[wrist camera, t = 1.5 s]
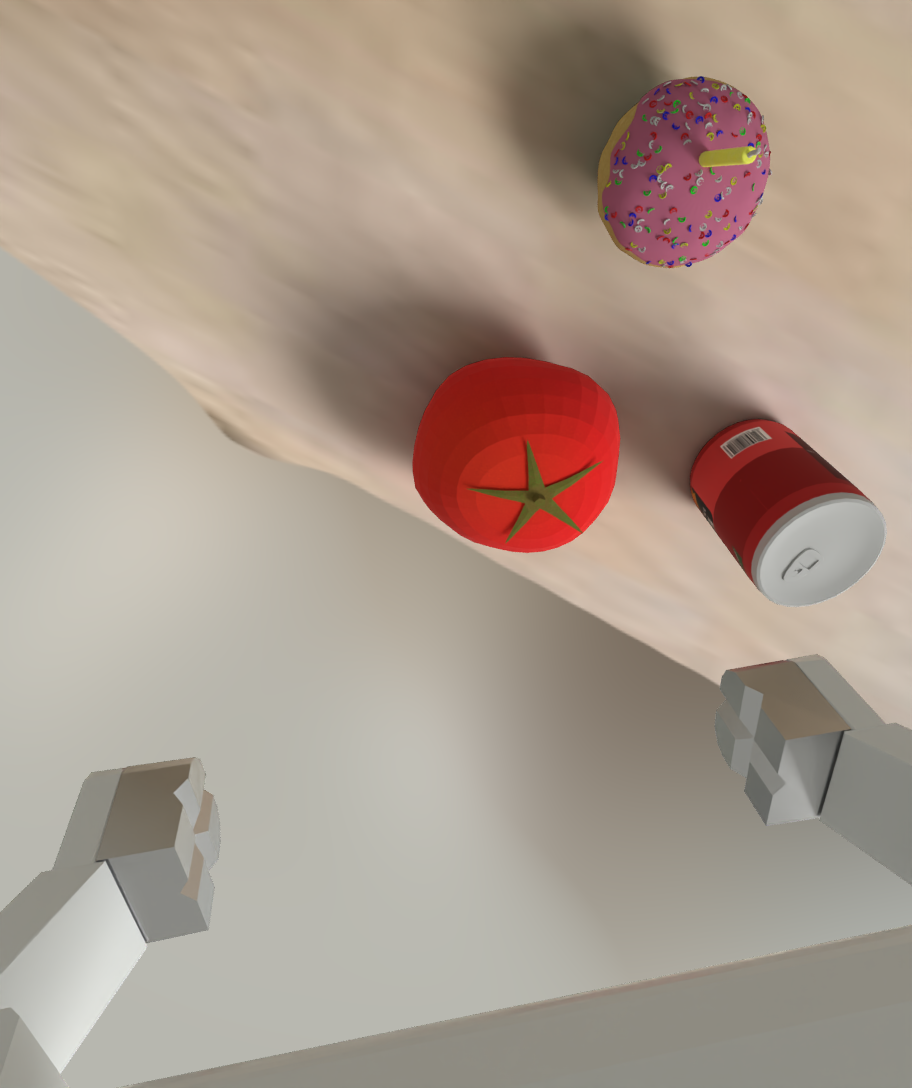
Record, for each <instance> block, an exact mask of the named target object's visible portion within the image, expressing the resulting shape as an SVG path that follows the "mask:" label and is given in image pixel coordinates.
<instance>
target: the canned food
mask: <svg viewBox="0 0 912 1088" xmlns="http://www.w3.org/2000/svg"><path fill="white" fill-rule="evenodd" d="M690 487H691V493H692V496H693V500H694V502H695V504H696V505H697V507H698V509H699V510H700V511H701V513H702V514H703V515H704V517H705V518H706V519H707V521H708V522H709V524H710V525H711V526H712V528H713V529H714V530H715V532H716V533H717V535H718V536H719V537H720V539H721V540H722V541H723V543H724V544H725V546H726V547H727V548H728V550H729V551H730V552H731V554H732V555H733V557H734V558H735V559H736V561H737V562H738V563H739V565H740V566H741V568H742V569H743V570H744V572H745V573H746V574H747V576H748V577H749V579H750V580H751V581H752V582H753V583H754V585H755V586H756V587H757V589H758V590H759V591H760V592H761V593H762V594H763V595H764V596H765V597H767V598H768V599H769V600H770V601H772V602H774V603H776V604H779V605H783V606H787V607H802V606H810V605H814V604H818V603H821V602H824V601H826V600H829V599H831V598H834V597H836V596H837V595H839V594H841V593H843V592H844V591H846V590H847V589H849V588H850V587H852V586H853V585H854V584H856V583H857V582H858V581H859V580H860V579H861V578H862V577H863V576H864V575H866V574H867V572H868V571H869V570H870V569H871V568H872V566H873V565H874V564H875V562H876V561H877V559H878V557H879V556H880V554H881V552H882V549H883V547H884V544H885V540H886V534H887V530H886V522H885V519H884V517H883V515H882V513H881V512H880V511H879V510H878V508H877V507H876V506H875V505H874V504H873V502H872V501H871V500H869V499H868V498H867V497H866V496H865V495H864V494H863V493H862V492H861V491H860V490H859V489H858V488H857V487H855V486H854V485H853V484H852V483H851V482H850V481H849V480H847V479H846V478H845V477H844V476H843V475H842V474H841V473H839V472H838V471H837V470H836V469H835V468H834V467H833V466H832V465H830V464H829V463H828V462H827V461H826V460H825V459H824V458H822V457H821V456H820V455H819V454H818V453H817V452H816V451H814V450H813V449H812V448H811V447H810V446H809V445H808V444H806V443H805V442H804V441H803V440H802V439H801V438H800V437H799V436H797V435H796V434H795V433H794V432H793V431H792V430H791V429H789V428H787V427H786V426H784V425H783V424H780V423H776V422H773V421H769V420H763V419H752V420H746V421H742V422H739V423H736V424H733V425H731V426H729V427H727V428H725V429H724V430H722V431H721V432H719V433H718V434H716V435H715V436H714V437H713V438H712V439H711V440H709V441H708V442H707V444H706V445H705V446H704V447H703V448H702V450H701V451H700V453H699V454H698V456H697V458H696V459H695V462H694V464H693V467H692V470H691V475H690Z"/></svg>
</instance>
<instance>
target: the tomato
mask: <svg viewBox="0 0 912 1088" xmlns="http://www.w3.org/2000/svg"><path fill="white" fill-rule="evenodd" d="M619 446H620V433H619V423H618V417H617V412H616V409H615V407H614V405H613V403H612V401H611V399H610V397H609V395H608V394H607V393H606V392H605V391H604V390H603V389H602V388H601V387H600V386H599V385H598V384H597V383H596V382H595V381H594V380H592V379H591V378H590V377H589V376H587V375H585V374H583V373H581V372H579V371H576V370H574V369H572V368H568V367H564V366H560V365H557V364H553V363H549V362H546V361H540V360H535V359H529V358H514V357H503V358H494V359H486V360H482V361H479V362H476V363H473V364H469V365H466V366H464V367H463V368H461V369H459V370H458V371H456V372H454V373H453V374H451V375H449V376H448V377H447V379H446V380H445V381H444V382H443V383H442V384H441V385H440V387H439V388H438V389H437V390H436V392H435V394H434V395H433V397H432V399H431V401H430V402H429V404H428V406H427V408H426V410H425V412H424V414H423V417H422V420H421V422H420V425H419V428H418V432H417V436H416V441H415V445H414V453H413V462H412V463H413V476H414V482H415V488H416V489H417V491H418V493H419V494H420V496H421V498H422V499H423V501H424V502H425V504H426V505H427V506H428V508H429V509H430V510H431V511H432V512H433V513H434V514H435V515H436V516H437V517H438V518H439V519H440V520H441V521H442V522H444V523H445V524H446V525H448V526H449V527H450V528H452V529H453V530H454V531H455V532H457V533H458V534H459V535H461V536H463V537H465V538H467V539H469V540H471V541H473V542H475V543H479V544H482V545H486V546H489V547H493V548H497V549H502V550H507V551H512V552H525V553H530V552H541V551H546V550H550V549H554V548H557V547H560V546H562V545H564V544H566V543H569V542H571V541H572V540H574V539H575V538H576V537H578V536H579V535H580V534H582V533H583V532H584V531H585V530H586V529H587V528H588V527H589V526H590V525H591V524H592V523H593V521H594V520H595V519H596V518H597V517H598V515H599V514H600V513H601V511H602V510H603V509H604V507H605V506H606V504H607V503H608V501H609V499H610V496H611V493H612V491H613V488H614V485H615V479H616V472H617V465H618V457H619Z"/></svg>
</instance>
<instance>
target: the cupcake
mask: <svg viewBox="0 0 912 1088" xmlns="http://www.w3.org/2000/svg"><path fill="white" fill-rule="evenodd" d="M763 119H764V116H763V115H762V117H761V114H760V112H759V110H758V109H757V107H756V106H755V105H754V104H753V102H752V101H751V100H750V99H749V98H748V97H747V96H746V95H744V94H742V93H741V92H740V91H739V90H737V89H736V88H734V87H732V86H731V85H729V84H726V83H724V82H721V81H718V80H715V79H711V78H707V77H702V76H700V77H689V78H684V79H678V80H671V81H667V82H665V83H662V84H660V85H658V86H657V87H655V88H653V89H652V90H650V91H649V92H648V93H647V94H645V95H644V96H643V97H642V98H641V100H640V101H639V102H638V103H637V104H636V105H635V106H633V107H632V108H631V109H630V110H629V111H628V112H627V113H626V114H625V115H624V116H623V117H622V118H621V119H620V120H619V121H618V123H617V124H616V126H615V128H614V130H613V132H612V134H611V136H610V138H609V140H608V142H607V144H606V146H605V148H604V150H603V152H602V154H601V157H600V160H599V166H598V212H599V215H600V218H601V220H602V222H603V223H604V225H605V227H606V229H607V231H608V233H609V234H610V236H611V238H612V240H613V242H614V243H615V245H616V246H617V247H618V248H619V249H620V250H621V251H623V252H624V253H626V254H628V255H629V256H631V257H632V258H634V259H636V260H637V261H639V262H641V263H643V264H646V265H649V266H655V267H663V268H675V267H681V266H685V265H686V266H687V267H690V266H691V265H692V263H695V262H699V261H702V260H705V259H707V258H709V257H711V256H713V255H715V254H716V253H718V252H719V251H721V250H722V249H723V248H725V247H726V246H727V245H729V244H730V243H731V242H732V241H733V240H735V239H736V238H737V237H739V236H740V235H741V234H742V233H743V232H744V231H745V229H746V228H747V226H748V225H749V223H750V221H751V219H752V218H753V217H754V216H755V215H756V214H757V213H755V211H756V209H757V207H758V205H760V204H761V203H762V201H763V198H762V195H763V192H764V189H765V186H766V182H767V178H768V175H772V171H771V170H770V169H769V167H770V153H771V151H770V150H769V143H768V138H767V133H766V126H765V125H764V122H763ZM770 172H771V173H770ZM760 200H761V201H760ZM759 202H760V203H759ZM754 213H755V214H754ZM688 264H690V265H688Z"/></svg>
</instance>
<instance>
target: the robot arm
mask: <svg viewBox="0 0 912 1088" xmlns="http://www.w3.org/2000/svg"><path fill="white" fill-rule="evenodd" d="M720 690H721V692H722V693H723V695H724V696H725V698H726V700H725V701H724V702H723V704H722V705H721V706H720V707H719V708H718V709H717V710H716V719H715V731H716V736H717V742H718V745H719V748H720V750H721V753H722V756H723V757H724V759H725V761H726V762H727V764H728V766H729V767H730V769H732V770H733V771H735V772H737V773H739V774H741V775H742V776H744V777H745V778H747V779H746V785H745V790H744V792H745V793H746V795H747V796H748V798H749V799H750V801H751V803H752V804H753V806H754V808H755V809H756V811H757V812H758V814H759V815H760V817H761V818H762V820H763V822H764V823H765V825H766V826H769V825H776V824H782V823H788V822H794V821H801V820H808V819H814V818H820V820H819V821H821V822H822V823H824V824H825V825H826V826H828V827H829V828H831V829H832V830H834V831H835V832H836V833H838V834H839V835H841V836H842V837H844V838H845V839H846V840H848V841H849V842H851V843H852V844H854V845H855V846H856V847H858V848H859V849H860V850H862V851H864V852H865V853H866V854H868V855H869V856H870V857H872V858H873V859H875V860H876V861H878V862H879V863H880V864H882V865H883V866H885V867H886V868H887V869H889V870H891V871H892V872H893V873H895V874H896V875H897V876H899V877H900V878H902V879H903V880H905V881H906V882H908V883H909V884H910V885H912V730H910V729H908V728H906V727H904V726H902V725H899V724H897V723H892V724H886V723H885V722H884V721H883V720H882V719H881V718H880V717H879V716H878V714H877V713H876V712H875V711H874V710H873V709H872V708H871V707H870V706H869V705H868V704H867V703H866V702H865V700H864V699H863V698H862V697H861V696H860V695H859V694H858V693H857V692H856V691H855V690H854V689H853V688H852V686H851V685H850V684H849V683H848V682H847V681H846V680H845V679H844V678H843V677H842V676H841V675H840V674H839V672H838V671H837V670H836V669H835V668H834V667H833V666H832V665H831V664H830V663H829V662H828V661H827V660H826V659H825V658H824V657H822V656H820V655H818V654H815V655H809V656H804V657H798V658H792V659H787V660H785V661H784V660H782V661H776V662H770V663H764V664H758V665H753V666H747V667H741V668H735V669H730V670H726V671H725V673H724V674H723V676H722V679H721V685H720ZM205 778H206V773H205V771H204V768H203V765H202V763H201V760H200V759H199V758H196V757H193V758H186V759H179V760H172V761H164V762H157V763H151V764H144V765H136V766H128V767H126V768H120V769H112V770H105V771H97V772H91V774H90V775H89V776H88V777H87V778H86V779H85V781H84V782H83V785H82V788H81V790H80V793H79V796H78V799H77V802H76V805H75V807H74V810H73V813H72V816H71V819H70V821H69V824H68V827H67V830H66V833H65V836H64V838H63V841H62V844H61V847H60V850H59V853H58V855H57V858H56V861H55V864H54V867H53V869H52V870H51V871H45V872H41V873H40V874H39V875H38V876H37V877H36V878H35V879H34V880H33V881H32V882H31V883H30V884H29V885H28V886H27V887H26V888H25V889H24V890H23V891H22V892H21V893H19V894H18V896H17V897H15V898H14V899H13V900H12V901H11V902H10V903H9V904H8V905H7V906H6V907H5V908H4V909H3V910H2V911H1V912H0V1088H70V1087H69V1086H68V1084H67V1083H66V1081H65V1080H64V1078H63V1077H62V1076H61V1072H62V1071H63V1069H64V1068H65V1066H66V1065H67V1063H68V1062H69V1061H70V1059H71V1058H72V1056H73V1055H74V1053H75V1052H76V1050H77V1049H78V1047H79V1046H80V1044H81V1043H82V1042H83V1040H84V1039H85V1037H86V1036H87V1034H88V1033H89V1031H90V1030H91V1028H92V1027H93V1025H94V1024H95V1022H96V1021H97V1020H98V1018H99V1017H100V1015H101V1014H102V1012H103V1011H104V1009H105V1008H106V1006H107V1005H108V1003H109V1002H110V1001H111V999H112V998H113V996H114V995H115V993H116V992H117V990H118V989H119V988H120V986H121V985H122V983H123V982H124V980H125V979H126V977H127V976H128V974H129V973H130V972H131V970H132V969H133V967H134V965H135V964H136V963H137V961H138V960H139V958H140V957H141V955H142V954H143V952H144V951H145V949H146V948H147V945H146V943H150V942H155V941H159V940H164V939H169V938H173V937H178V936H183V935H187V934H192V933H196V932H201V931H206V930H208V929H209V923H210V916H211V909H212V902H213V895H214V888H215V887H214V884H213V881H212V879H211V876H210V873H209V870H210V869H211V868H212V867H213V865H214V864H215V863H216V862H217V860H218V858H219V849H220V819H219V814H218V809H217V805H216V802H215V799H214V796H213V795H212V794H211V793H209V792H207V791H206V790H204V784H205ZM118 1088H912V925H909V926H904V927H898V928H893V929H889V930H884V931H879V932H875V933H869V934H864V935H859V936H854V937H850V938H845V939H840V940H835V941H830V942H825V943H820V944H815V945H811V946H806V947H801V948H796V949H791V950H786V951H782V952H776V953H772V954H767V955H762V956H757V957H752V958H748V959H742V960H738V961H733V962H728V963H723V964H718V965H713V966H708V967H704V968H699V969H694V970H689V971H685V972H679V973H674V974H670V975H665V976H660V977H655V978H650V979H645V980H640V981H636V982H631V983H626V984H621V985H616V986H611V987H606V988H601V989H597V990H592V991H587V992H582V993H577V994H572V995H568V996H562V997H558V998H553V999H548V1000H544V1001H538V1002H534V1003H528V1004H524V1005H519V1006H514V1007H509V1008H504V1009H499V1010H495V1011H489V1012H484V1013H480V1014H475V1015H470V1016H465V1017H461V1018H455V1019H450V1020H445V1021H440V1022H436V1023H431V1024H426V1025H421V1026H416V1027H412V1028H406V1029H401V1030H397V1031H392V1032H387V1033H382V1034H377V1035H372V1036H367V1037H362V1038H358V1039H353V1040H348V1041H343V1042H338V1043H333V1044H328V1045H324V1046H318V1047H314V1048H309V1049H304V1050H299V1051H294V1052H289V1053H284V1054H279V1055H274V1056H270V1057H265V1058H260V1059H255V1060H250V1061H245V1062H240V1063H235V1064H231V1065H226V1066H221V1067H216V1068H211V1069H207V1070H201V1071H197V1072H191V1073H187V1074H182V1075H177V1076H173V1077H167V1078H163V1079H157V1080H152V1081H147V1082H143V1083H138V1084H133V1085H128V1086H123V1087H118Z"/></svg>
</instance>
